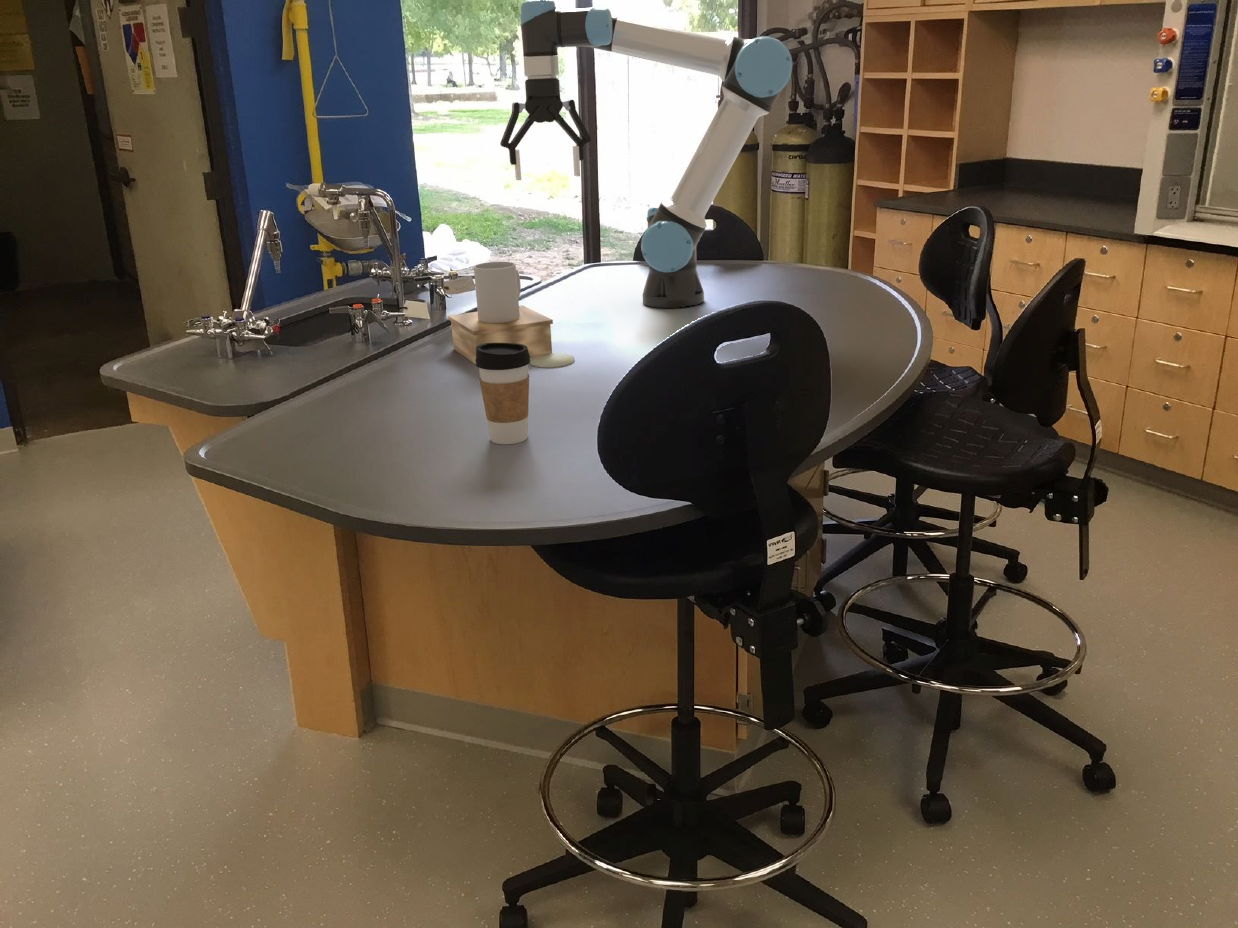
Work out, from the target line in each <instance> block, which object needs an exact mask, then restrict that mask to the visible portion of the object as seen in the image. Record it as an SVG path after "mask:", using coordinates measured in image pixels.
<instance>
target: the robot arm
mask: <svg viewBox="0 0 1238 928" xmlns="http://www.w3.org/2000/svg"><path fill="white" fill-rule="evenodd" d="M520 29H521V41H522V51H523V52H522V53H523V55H522V56H523V70H524V72H523V73H524V77H526V78H527V79H525V81H524V87H525V103H521V102H516V101H514V102H512V103H511V114H510V117H509V119H508V122H507V124H506V127H505V130H504V133H503V135H502V138H501V141H500V147H502V148H505V149H507V150H508V153H509V163H510V165H511V166H514V172H515V180H516V181H522V170H521V169H522V167H521V156H520V155H521V154H520V149H517V147H518V145H520V144H521V143H520V142H521V141H522V140H523V138H524V137H525V135H526V134H527V133H528V131H529V130H530V128H531V127H532V125H533V124H534V123H538V124H541V123H545V122H546V123H553V122H554V121H555V122H556V123H557V124H558V126H559V127H561V129H562V130H563V131H564V132H565V133H566V135H568V137H569V138H570V139H571V141H573V142H574V143H575V145H572V157H573V158H572V159H573V160H572V161H573V176H575V177H581V164H580V163H581V162H580V161H584V145H586V144H588V143H590V142H592V139H591V136H590V134H589V132H588V130H587V129H586V126H585V124H584V123H583V120H582V119H581V116H580V115H579V113H578V111H577V107H576V101H575V100H574V99H567V100H564V101H562V99H561V88H560V87H561V85H560V79H559V78H558V77H557V76H559V74H560V71H559V54H558V48H577V47H580V48H581V47H586V48H590V49H597V50H601V51H606V52H610V53H612V52H613V53H616V54H621V55H625V56H629V57H632V58H633V57H634V58H638V59H642V60H647V61H651V62H656V63H661V64H666V65H670V66H673V67H674V66H675V67H679V68H684V69H687V70H688V69H689V70H691V71H696V72H701V73H705V74H711V75H715V76H719V78H720V79H721V81H722V82H723V84H722V85H721V91H722V94H723V100H722V101H721V103H720V105H719V106H718V108H717V110H716V112H715V115H714V116H713V119H712V120H711V122H710V124H709V126H708V127H707V130H706V132H705V133H704V135H703V137H702V139H701V141H700V143H699V145H698V146H697V149H696V150H695V152H694V154H693V156H692V158H691V160H690V162H689V163H688V165H687V167H686V169H685V171H684V173H683V175H682V177H681V179H680V180H679V182H678V184H677V186H676V188H675V190H674V192H673V194H672V195H671V197H669V198H667V199H664V200H662V201H661V202H660V204H659V206H657V207H650V208H649V209H648V210H647V217H646V222H647V228H646V230H644V232H643V234H642V236H641V238H640V239H641V241H640V249H641V253H642V257H643V259H644V260H645V262H646V263H647V264H648V275H647V278H646V280H645V284H644V288H643V292H642V304H643V305H645V306H648V307H651V308H657V309H659V308H660V309H679V307H682V308H687V307H686V306H690V307H692V306H691V305H695V306H698V304H699V305H700V303H701V302H703V301H704V302H705V291H704V287H703V286H702V283H701V279H700V277H699V273H698V270H697V246H698V243H699V242H700V240H701V237H703V234H704V232H705V230H706V228H707V226H708V225H707V222H706V218H705V217H706V214H707V213H708V211H709V209H710V207H711V205H712V204H713V202H714V199H716V197H717V194H718V192H719V191H720V189H721V187H722V185H723V184H724V182H725V180H726V178H727V176H728V174H729V172H730V171H731V169H732V166H733V165H734V163H735V162H736V160H737V157H738V156H739V154H740V153H741V151H742V148H743V147H744V145H745V143H746V141H747V140H748V138H749V136H750V134H751V132H752V130H753V128H754V127H755V126H756V123H757V121H758V119H759V118H760V117H763V116H766V115H768V114H769V113H770V112H771V110H772V109H773V107H774V106H775V103H776V102H777V99H778V98H779V96H780V94H781V92H782V91H783V90H784V88H785V87H786V86H787V84H788V82H789V81H790V79H791V76H792V73H793V59H792V58H793V57H792V55H791V52H790V50H789V48H788V47H787V45H786V44H785V43H783V42H782V41H781V40H779V39H777V38H774V37H773V36H768V35H761V36H757V37H754V38H752V39H751V38H741V37H737V36H732V37H730V38H729V39H723V38H718V37H713V36H709V35H704V34H699V33H695V32H691V31H685V30H681V29H676V28H672V27H668V26H662V25H659V24H654V23H649V22H645V21H644V22H643V21H641V20H640V21H639V20H636V19H631V18H626V17H621V16H615V15H612V14H611V10H610V9H609V8H607V7H598V6H597V7H596V6H592V7H585V8H584V7H583V8H569V9H562V8H561V9H558V8H557V7H556V3H555V1H554V0H525V1H523V2H522V3H521V5H520ZM563 108H564V109H565V110H566V111H568V114H569V116H570V117H571V120H572V121H573V123H574V125H575V126H576V127H575V128H576V129H577V130H578V133H579V135H580V136H579V135H578V134H577V133H576V131H575V130H574V129H573V128H572V127H571V126H570V125H569V124H568V123H567V121H566V120H565V119H564V117H563V116H562V114H560V113H561V111H562V109H563ZM523 110H525V111H526V112H527V114H528V115H527V117H526V119H525V121H524V122H523V123H522V125H521V127H520V128H519V129H518V131H517V132H516V134H515V135H514V137H513V138H512V139H511V137H512V134H513V131H514V129H515V127H516V124H517V121H518V119H519V116H520V114H521V113H522V112H523ZM510 140H511V141H510ZM704 302H703V303H704ZM701 304H702V303H701Z"/></svg>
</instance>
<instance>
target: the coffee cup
mask: <svg viewBox="0 0 1238 928" xmlns="http://www.w3.org/2000/svg"><path fill="white" fill-rule="evenodd" d="M530 359H531V358H530V355H529V352H528V348H527V346H526V345H523V344H517V343H484V344H480V345H478V346H477V347H476V359H475V362H476V364H475V366H476V367H477V368H478V370H479V378H478V379H479V384H480V385H479V386H480V390H481V395H482V400H483V405H484V410H485V416H486V419H487V426H488V431H489V432H488V433H489V438H490V441H491V442H492V443H493V444H497V445H515V444H516V445H517V444H520V443H522V442H525V441H526V440H527V439H528V437H529V399H530V397H529V395H530V374H529V365H530Z"/></svg>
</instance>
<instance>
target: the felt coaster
mask: <svg viewBox="0 0 1238 928" xmlns="http://www.w3.org/2000/svg"><path fill="white" fill-rule="evenodd" d="M573 363H575V356H574V355H572V354H568V353H561V352H560V353H559V352H552V353H550V354H542V355H538V356H535V357H532V358H530V363H529V365H531V366H533V367H534V368H535V367H537V368H541V369H542V368H543V369H544V368H545V369H548V368H549V369H551V368H552V369H553V368H561V367H562V368H563V367H566V366H569V365H572V364H573Z"/></svg>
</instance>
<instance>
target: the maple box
mask: <svg viewBox="0 0 1238 928" xmlns="http://www.w3.org/2000/svg"><path fill="white" fill-rule="evenodd" d="M519 312H520V317H519V319H518V320H515V321H512V322H507V323H497V324H491V323H483V322H480V321H479V320H478V311H473V312H465V313H458V314H450V315H447V319H448V320H449V321H450V324H451V335H452V343H453V344H452V347H453V350H454V351H455V352H457V353H459V354H460V355H461V356H463V357H465V358H466V360H469V362H471V363H472V364H474V365H476V362H475V359H476V347H477V346H478V345H480V344H484V343H517V344H523V345H526V346H527V348H528V352H529V355H530V359H531V358H532V357H535V356H538V355H542V354H550V353H553V345H552V330H551V327H552V326H551V325H552V324H553V323H554V320H553V319H551V318H550V317H547V316H545V315H544V314H542V313H539V312H537V311H536V310H533V309H531V308H530V307H527V306H525V305H519Z"/></svg>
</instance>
